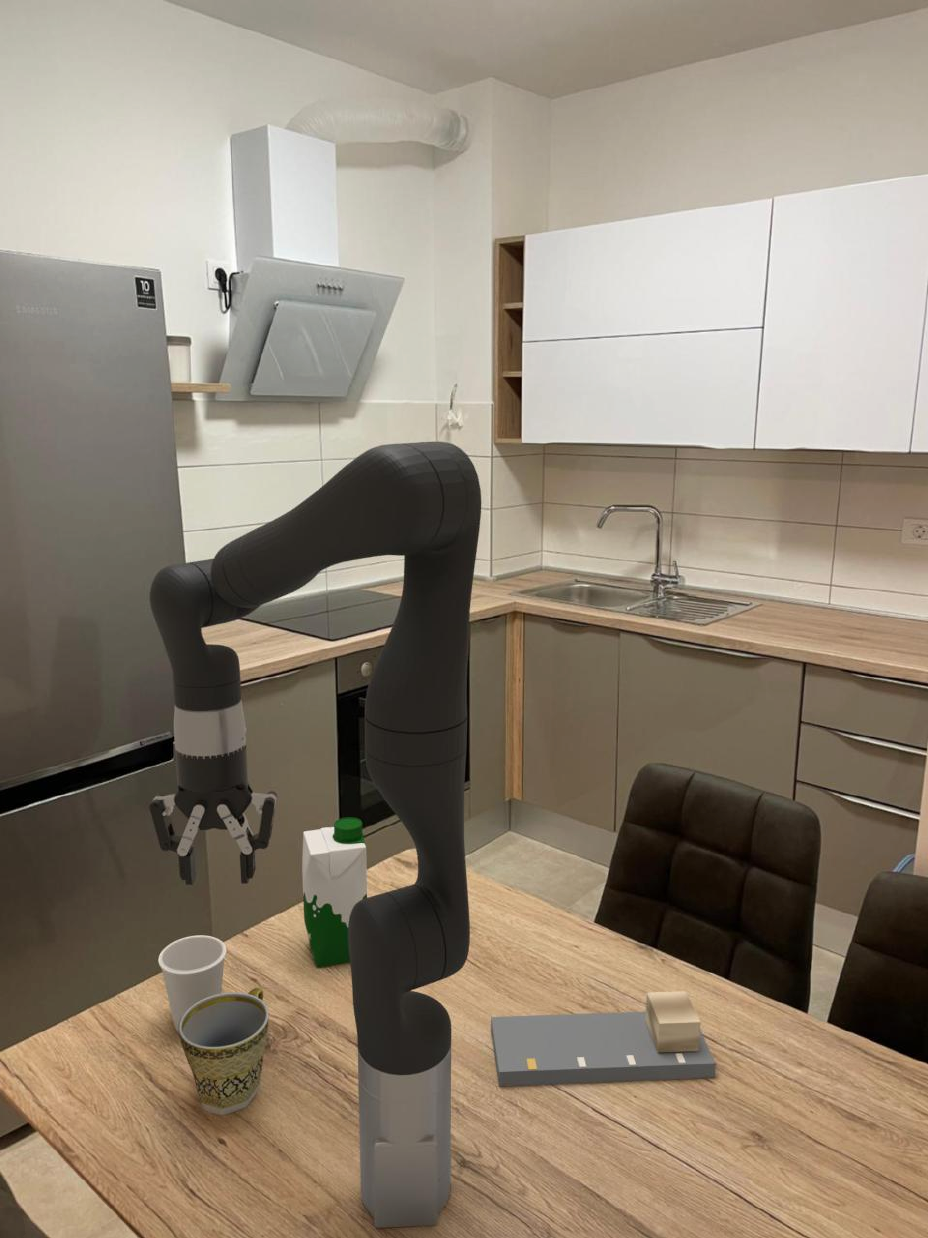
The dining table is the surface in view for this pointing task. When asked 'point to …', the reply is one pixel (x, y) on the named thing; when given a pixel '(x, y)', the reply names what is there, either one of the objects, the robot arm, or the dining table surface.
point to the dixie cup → (192, 971)
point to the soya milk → (332, 887)
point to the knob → (672, 1021)
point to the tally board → (588, 1050)
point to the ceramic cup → (226, 1048)
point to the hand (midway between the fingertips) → (218, 880)
